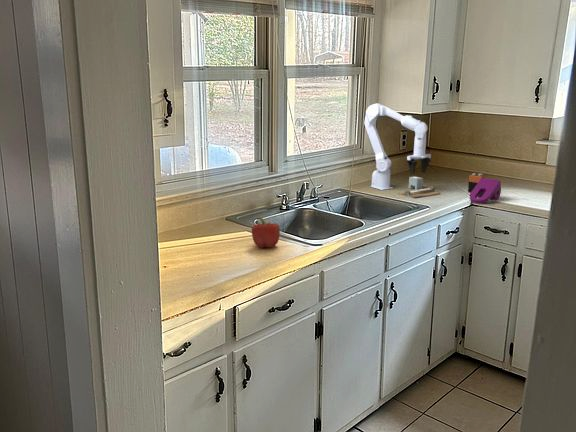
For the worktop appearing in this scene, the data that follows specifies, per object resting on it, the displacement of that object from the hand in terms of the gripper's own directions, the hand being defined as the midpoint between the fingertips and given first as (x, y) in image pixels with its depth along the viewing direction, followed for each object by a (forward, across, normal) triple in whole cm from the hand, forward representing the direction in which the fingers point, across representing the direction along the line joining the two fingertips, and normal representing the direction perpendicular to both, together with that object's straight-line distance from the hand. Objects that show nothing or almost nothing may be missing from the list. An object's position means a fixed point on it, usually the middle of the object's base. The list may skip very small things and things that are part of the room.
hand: (417, 173), depth 301 cm
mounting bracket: (+10, +15, -31) cm, 35 cm away
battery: (+10, +25, -17) cm, 32 cm away
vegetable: (+10, -113, -40) cm, 120 cm away
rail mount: (+10, -4, -6) cm, 12 cm away
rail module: (+10, +3, +4) cm, 11 cm away
